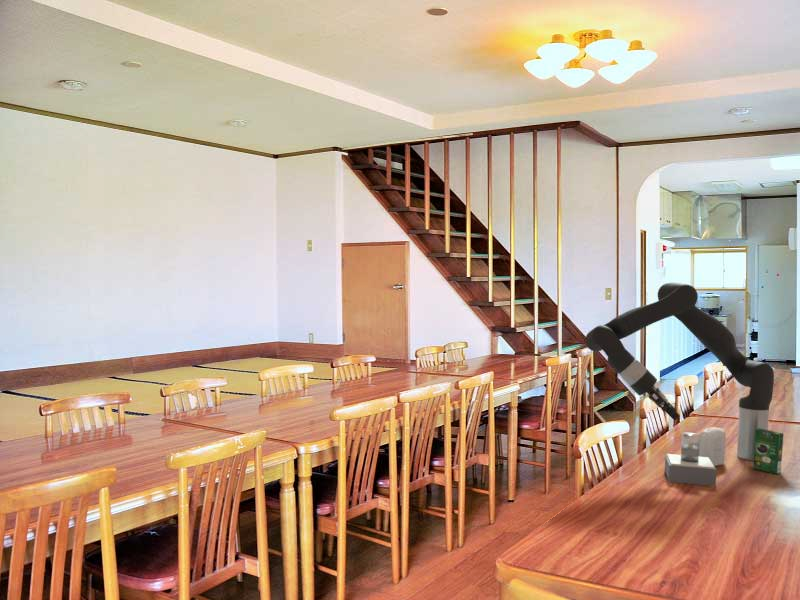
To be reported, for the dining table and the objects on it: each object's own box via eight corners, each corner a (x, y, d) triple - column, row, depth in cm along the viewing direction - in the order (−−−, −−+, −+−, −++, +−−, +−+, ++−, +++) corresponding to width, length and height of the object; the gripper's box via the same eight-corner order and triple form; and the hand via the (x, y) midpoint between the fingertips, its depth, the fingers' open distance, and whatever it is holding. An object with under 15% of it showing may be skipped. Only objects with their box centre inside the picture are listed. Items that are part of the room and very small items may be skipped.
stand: (664, 470, 222) (665, 453, 222) (708, 474, 219) (709, 456, 218) (668, 481, 210) (669, 463, 209) (715, 486, 206) (716, 467, 206)
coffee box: (782, 473, 221) (784, 432, 221) (777, 475, 220) (779, 433, 219) (757, 467, 228) (759, 427, 227) (752, 468, 226) (754, 428, 226)
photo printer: (714, 461, 235) (715, 424, 234) (726, 464, 231) (728, 427, 231) (696, 465, 229) (697, 428, 228) (708, 468, 225) (709, 430, 225)
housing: (679, 457, 217) (680, 431, 217) (697, 458, 216) (698, 433, 215) (681, 461, 212) (682, 435, 212) (699, 463, 211) (700, 436, 211)
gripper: (648, 371, 211) (688, 412, 208) (645, 365, 224) (682, 403, 222) (629, 388, 212) (668, 428, 210) (627, 381, 226) (664, 418, 223)
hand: (675, 415), depth 216 cm, fingers open, 8 cm apart
